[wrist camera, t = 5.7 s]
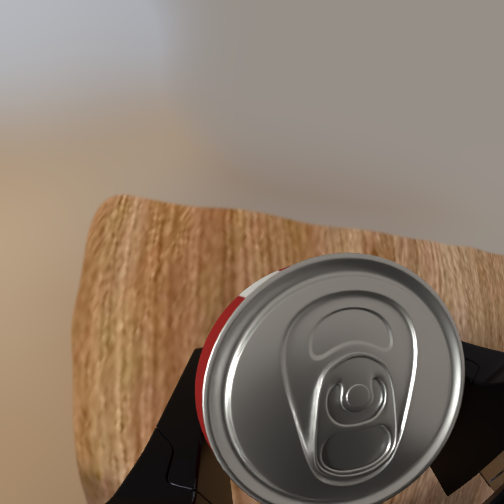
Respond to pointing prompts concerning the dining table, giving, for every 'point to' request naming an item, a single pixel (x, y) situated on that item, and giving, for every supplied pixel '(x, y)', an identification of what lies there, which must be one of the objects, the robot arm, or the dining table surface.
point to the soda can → (331, 382)
